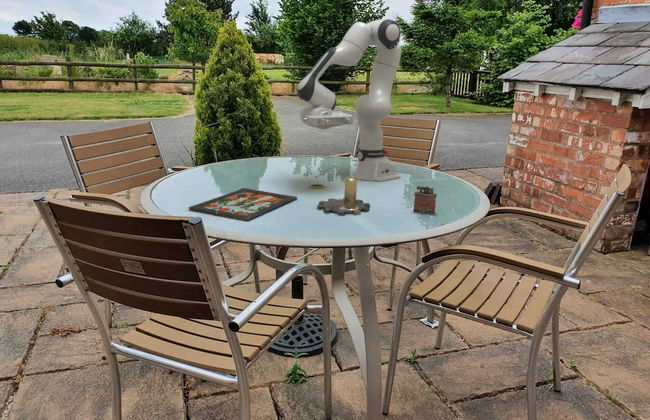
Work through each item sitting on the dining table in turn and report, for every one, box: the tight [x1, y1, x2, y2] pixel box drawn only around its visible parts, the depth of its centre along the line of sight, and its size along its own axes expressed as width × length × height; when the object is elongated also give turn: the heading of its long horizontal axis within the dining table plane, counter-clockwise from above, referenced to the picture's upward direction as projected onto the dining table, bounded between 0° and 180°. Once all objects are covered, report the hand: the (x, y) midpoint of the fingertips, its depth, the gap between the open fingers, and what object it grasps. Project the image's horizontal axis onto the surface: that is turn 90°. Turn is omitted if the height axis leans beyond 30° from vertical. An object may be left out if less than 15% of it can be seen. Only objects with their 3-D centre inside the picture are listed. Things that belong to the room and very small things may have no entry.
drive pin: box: [343, 176, 358, 209], centre depth 178 cm, size 4×4×11 cm
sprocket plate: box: [316, 197, 371, 217], centre depth 184 cm, size 20×20×1 cm
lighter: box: [412, 185, 437, 215], centre depth 178 cm, size 8×3×10 cm, turn 71°
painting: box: [187, 187, 298, 222], centre depth 186 cm, size 28×35×2 cm
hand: (338, 122), depth 195 cm, fingers open, 8 cm apart
